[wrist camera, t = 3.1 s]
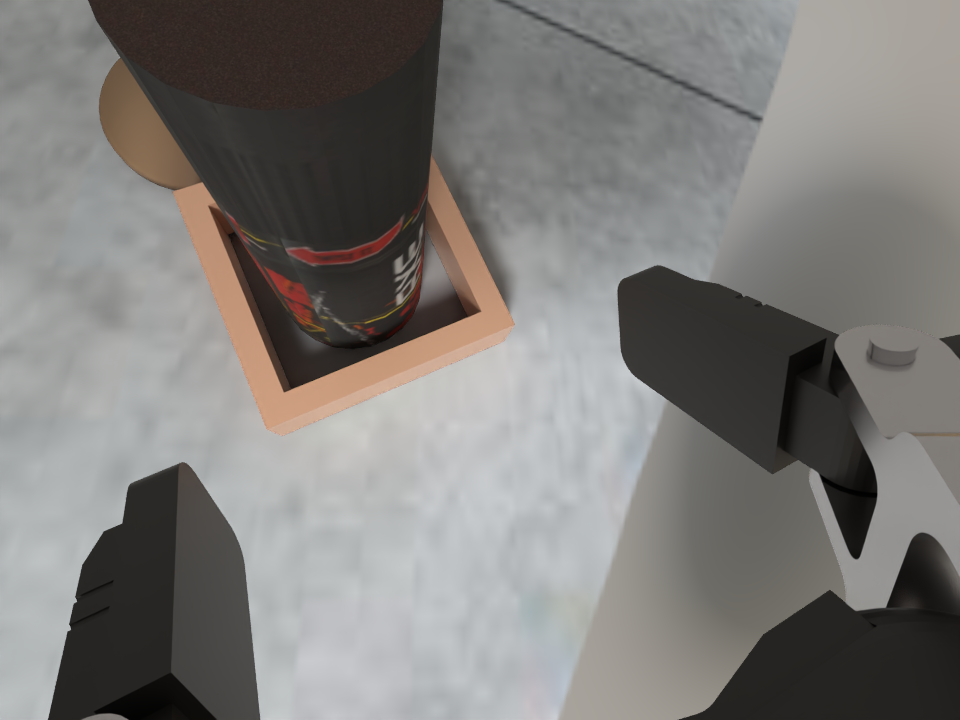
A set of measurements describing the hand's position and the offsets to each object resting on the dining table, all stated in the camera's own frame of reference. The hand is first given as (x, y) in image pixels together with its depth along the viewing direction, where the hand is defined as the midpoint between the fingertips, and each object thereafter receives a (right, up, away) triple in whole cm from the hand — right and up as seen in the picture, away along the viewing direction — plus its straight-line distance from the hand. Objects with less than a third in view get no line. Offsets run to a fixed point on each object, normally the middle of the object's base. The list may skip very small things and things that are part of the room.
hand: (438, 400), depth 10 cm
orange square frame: (-5, +4, +14) cm, 15 cm away
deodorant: (-5, +4, +14) cm, 16 cm away
